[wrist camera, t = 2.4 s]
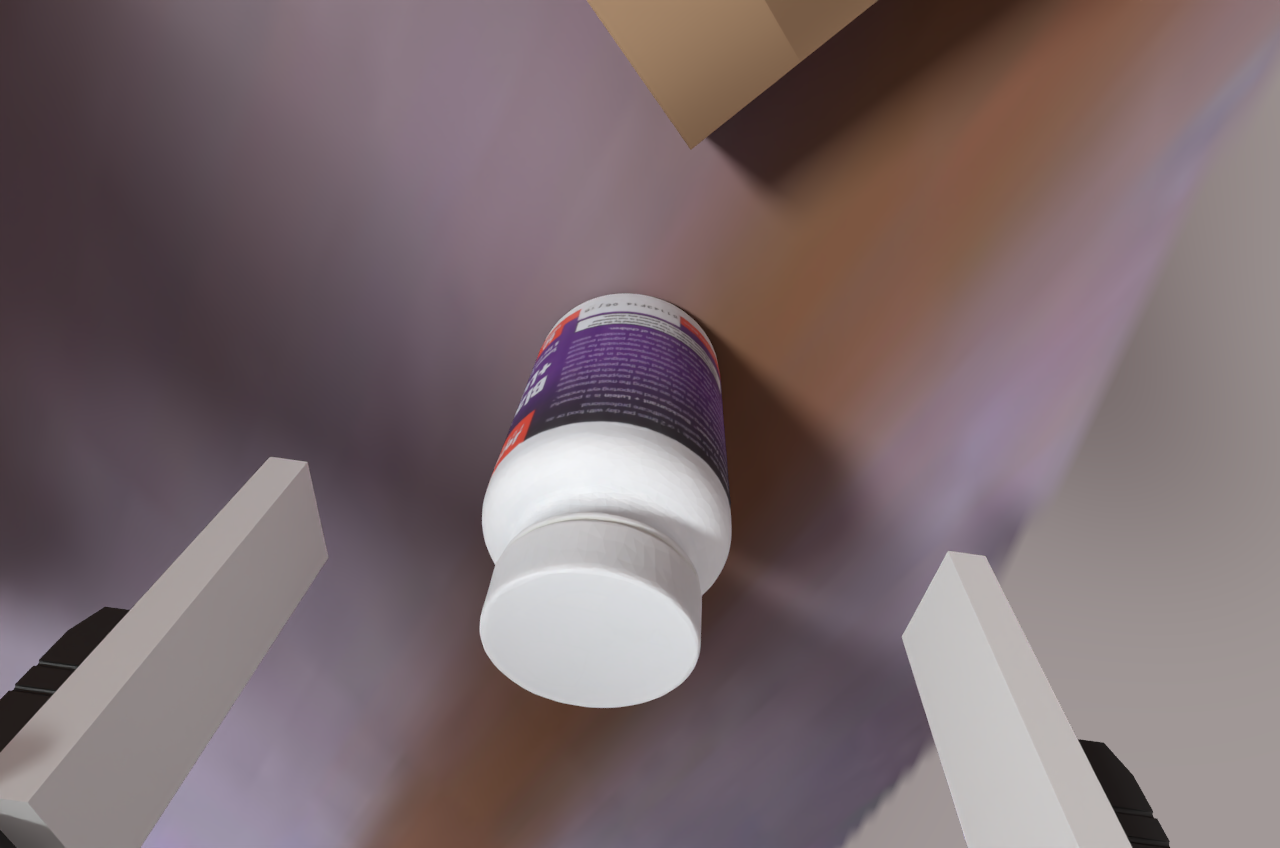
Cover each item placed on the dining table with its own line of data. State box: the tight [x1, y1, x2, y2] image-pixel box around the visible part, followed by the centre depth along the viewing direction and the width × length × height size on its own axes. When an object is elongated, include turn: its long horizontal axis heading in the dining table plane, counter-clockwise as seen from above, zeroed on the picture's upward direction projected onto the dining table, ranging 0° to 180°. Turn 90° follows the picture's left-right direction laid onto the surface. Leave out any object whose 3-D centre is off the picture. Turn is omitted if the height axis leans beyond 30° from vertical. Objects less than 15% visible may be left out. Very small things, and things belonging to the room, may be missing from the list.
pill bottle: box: [480, 293, 732, 708], centre depth 16 cm, size 5×5×10 cm
